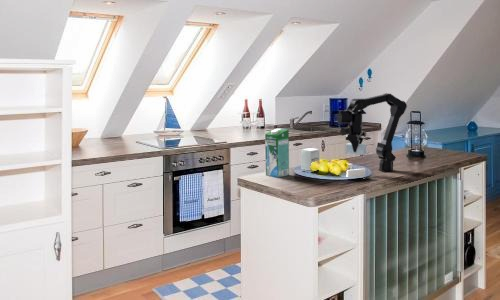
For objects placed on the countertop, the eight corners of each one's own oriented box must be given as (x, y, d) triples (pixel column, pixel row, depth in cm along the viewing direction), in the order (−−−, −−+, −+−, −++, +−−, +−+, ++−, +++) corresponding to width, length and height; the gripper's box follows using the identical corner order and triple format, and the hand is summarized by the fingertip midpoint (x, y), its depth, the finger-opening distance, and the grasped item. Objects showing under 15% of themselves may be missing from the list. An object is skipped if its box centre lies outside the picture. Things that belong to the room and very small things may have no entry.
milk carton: (265, 175, 262) (264, 129, 258) (277, 172, 268) (276, 127, 264) (278, 177, 256) (277, 131, 251) (289, 174, 262) (288, 129, 257)
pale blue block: (366, 153, 258) (366, 144, 258) (364, 154, 255) (364, 145, 254) (347, 152, 263) (347, 143, 262) (345, 153, 259) (345, 144, 259)
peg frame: (334, 174, 261) (334, 165, 260) (350, 172, 264) (350, 163, 263) (347, 180, 246) (348, 170, 245) (365, 178, 249) (365, 169, 248)
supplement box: (310, 173, 264) (310, 150, 262) (300, 171, 269) (300, 149, 267) (319, 171, 268) (319, 149, 266) (310, 169, 274) (309, 147, 272)
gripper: (347, 120, 268) (346, 147, 271) (336, 123, 252) (335, 153, 254) (367, 121, 263) (366, 149, 265) (357, 124, 247) (356, 154, 249)
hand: (355, 151), depth 259 cm, fingers closed on pale blue block, 4 cm apart
